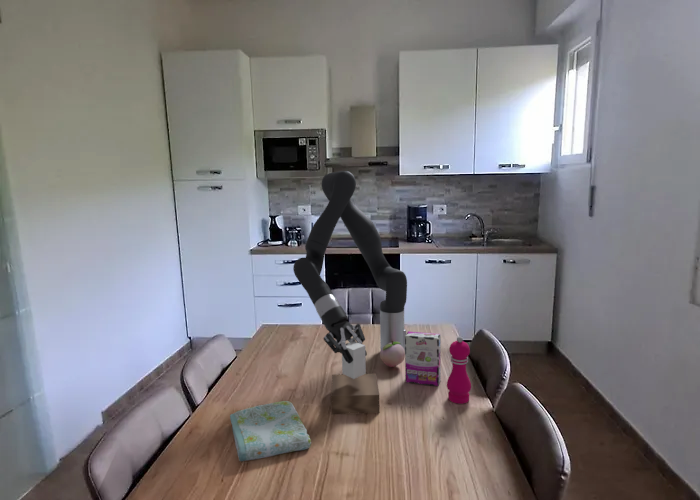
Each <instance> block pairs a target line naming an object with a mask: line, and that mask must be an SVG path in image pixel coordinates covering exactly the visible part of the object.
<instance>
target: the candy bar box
mask: <svg viewBox="0 0 700 500" xmlns="http://www.w3.org/2000/svg"><path fill="white" fill-rule="evenodd" d="M441 338H442V337H441V333H433V332H419V331H406V335H405V358H404V360H405V363H404V364H405V374H404V375H405V376H404V377H405V383H409V384H415V385H424V386H435V387H439V385H440V382H441V377H442V375H441V373H442V372H441V365H442V364H441V356H442V355H441V350H442V349H441V347H442V345H441Z"/></svg>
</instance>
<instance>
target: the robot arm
mask: <svg viewBox="0 0 700 500" xmlns="http://www.w3.org/2000/svg"><path fill="white" fill-rule="evenodd" d="M356 187H357V181H356V178H355V175H354V174H353V173H351V172H350V171H348V170H338V171H334V172H330V173H327V174H324V176H323V178H322V179H321V189H322V191H323V194H324V196H325V197H326V198H327V200H328V203H327V205H326V207H325V208H324V210H323V211H322V213H321V214H320V216H318V218H317V219H316V220H315V222H314V223H313V225H312V227H311V230H310V232H309V233H308V234H309V235H308V237H307V240H306V243H305V246H304V248H305V252H306V255H305V257H299V258H298V259H296V260H295V262H294V264H293V266H292V267H293V270H292V271H293V273H294V275H295V277H296V279H297V281H298V282H299V283H300V285H301V287H303V289H304V290H305V292H306V293H307V295H308V298H310V300H311V302H312V304H313V306H314V308H315V310H316V313H317V315H318V316H319V319H320V320H321V322H322V324H323V325H324V327H325V329H326V331H328V332H327V333H326V334H325V335H324V337H323V338H322V339H323V341H324V342H325V343H326V345H327V346H328V347H329V348H330V349H331V350H332V351H333V353H335V354H337V353H340V354H341V356H342V355H343V357H344V359H345V361H346V362H348V363H351V362H352V361H353V358H352V356H351V354H350V353H349V351H348V349H347V350H346V344H347V343H346V342H347V341H348V343H350V342H353V341H355V342H358V343H360V344H363V343H364V341H365V340H366V338H365V335H364V332H363V328H362V326H361V324H360V323H356V324H351V322H350V321H349V317H348V315H347V314H346V312H345V310H344V309H343V306H342V305H341V303H340V301H339V300H338V299H337V297H336V296H335V295H334V293H333V291H332V290H331V288H330V286H329V285H328V283H327V282H326V281H325V280H324V279H323V278H322V276H321V273H322V271H323V270H322V269H323V267H324V260H325V254H326V251H327V248H328V246H329V243H330V240H331V237H332V235H333V233H334V230H335V229H336V226H337V225H338V222H339V220H340V219H341V221H342V222H343V224H344V226H345V227H346V229H347V231H348V233H349V234H350V237H351V239H352V240H353V242H354V244H355V246H356V247H357V248H358V251H359V252H360V253H361V256H362V257H363V258H364V261H365V262H366V264H367V266H368V268H369V269H370V272H371V274H372V277H373V279H374V281H375V283H376V286H377V287H378V289H380V290H381V291H384V292H385V299H383V300H382V301H381V302H380V304H379V322H380V323H379V327H380V330H379V331H380V332H379V333H380V334H379V335H380V339H379V341H380V347H379V348H380V350H381V349H382V348H383V347H384V346H385V345H387V344H389V343H392V341H393V342H395V341H396V342H400V343H401V344H399V345H401V346H402V347H403V348H404V350H405V335H406V334H407V329H406V328H405V305H406V303H407V299H408V297H407V296H408V295H407V293H408V279H407V276H406V273H405V272H404V271H402V270H400V269H397V268H393V267H392V266H391V265H390V263H389V262H388V261H387V258H386V257H385V255H384V253H383V245H382V238H381V235H380V233H379V231H378V229H377V228H376V226H375V224H374V223H373V221H372V220H371V218H370V217H368V216H367V215H366V213H365V212H363V211H362V210H360V208H359V207H357V205H355V203H354V201H352V197H353V195H354V193H355V191H356ZM367 353H368V352H367V350H366V349H365V357H367V355H368V354H367Z"/></svg>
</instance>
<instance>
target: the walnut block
mask: <svg viewBox="0 0 700 500" xmlns="http://www.w3.org/2000/svg"><path fill="white" fill-rule="evenodd" d="M377 377H378V376H377V373H366V374H364V375H362V376H359V377H357V378H355V379H353V378H351V377H348V376H346V375H344V374H331V386H330V387H331V389H330V405H331V406H330V409H331V410H330V412H331V415H351V414H357V415H358V413H359V414H380V411H381V410H380V408H381V407H380V405H381V404H380V390H379V383H378V378H377Z"/></svg>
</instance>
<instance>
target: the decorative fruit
mask: <svg viewBox="0 0 700 500" xmlns="http://www.w3.org/2000/svg"><path fill="white" fill-rule="evenodd" d="M399 344H401V343H400V342H396V341H395V342H393V341H392V343H389V344H387V345H385V346H384V347H383V348H382V349H381V348H380V351H379V357H380V360H381V362H383V364H385V366H387V367H390V368H394V367H396V366H398V365H400V364H402V363H403V362H404V360H405V350H404V348H403V347H402V346H401V345H399Z"/></svg>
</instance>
